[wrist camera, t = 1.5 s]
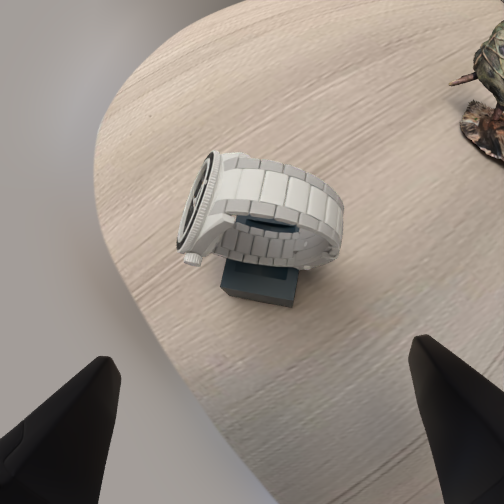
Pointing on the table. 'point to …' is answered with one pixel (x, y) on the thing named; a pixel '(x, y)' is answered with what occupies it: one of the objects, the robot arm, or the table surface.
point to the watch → (260, 224)
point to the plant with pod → (497, 82)
